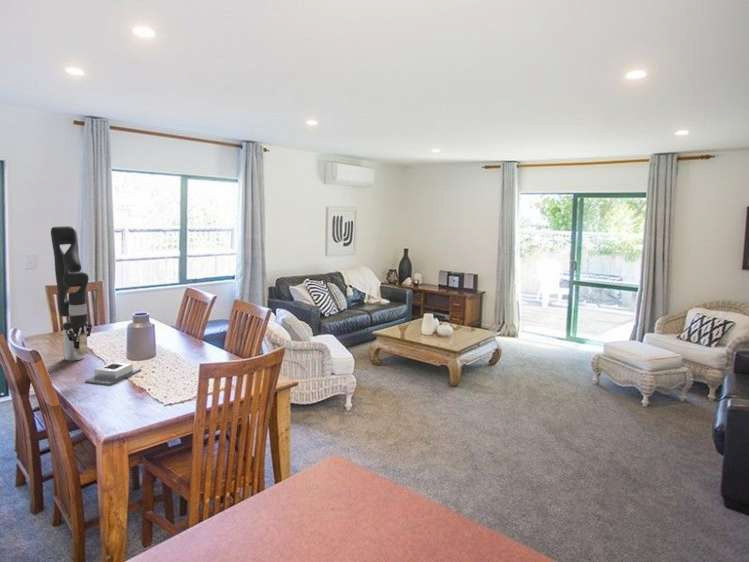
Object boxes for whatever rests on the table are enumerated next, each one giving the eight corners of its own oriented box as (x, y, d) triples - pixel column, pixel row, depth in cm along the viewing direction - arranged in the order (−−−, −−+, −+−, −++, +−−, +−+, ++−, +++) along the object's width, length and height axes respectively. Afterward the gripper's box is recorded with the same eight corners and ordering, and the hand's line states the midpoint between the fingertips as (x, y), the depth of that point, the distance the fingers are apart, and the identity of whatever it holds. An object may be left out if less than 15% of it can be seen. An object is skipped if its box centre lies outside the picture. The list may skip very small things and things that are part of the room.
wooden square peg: (74, 354, 240) (72, 334, 239) (80, 352, 244) (79, 332, 243) (81, 355, 240) (80, 335, 238) (87, 352, 243) (86, 333, 242)
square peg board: (85, 382, 239) (84, 372, 238) (117, 367, 260) (117, 358, 259) (110, 385, 236) (109, 375, 235) (141, 370, 257) (140, 361, 256)
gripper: (83, 309, 246) (85, 342, 249) (59, 315, 232) (62, 350, 235) (96, 310, 245) (98, 344, 247) (72, 316, 231) (75, 352, 234)
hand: (80, 347), depth 241 cm, fingers closed on wooden square peg, 4 cm apart
